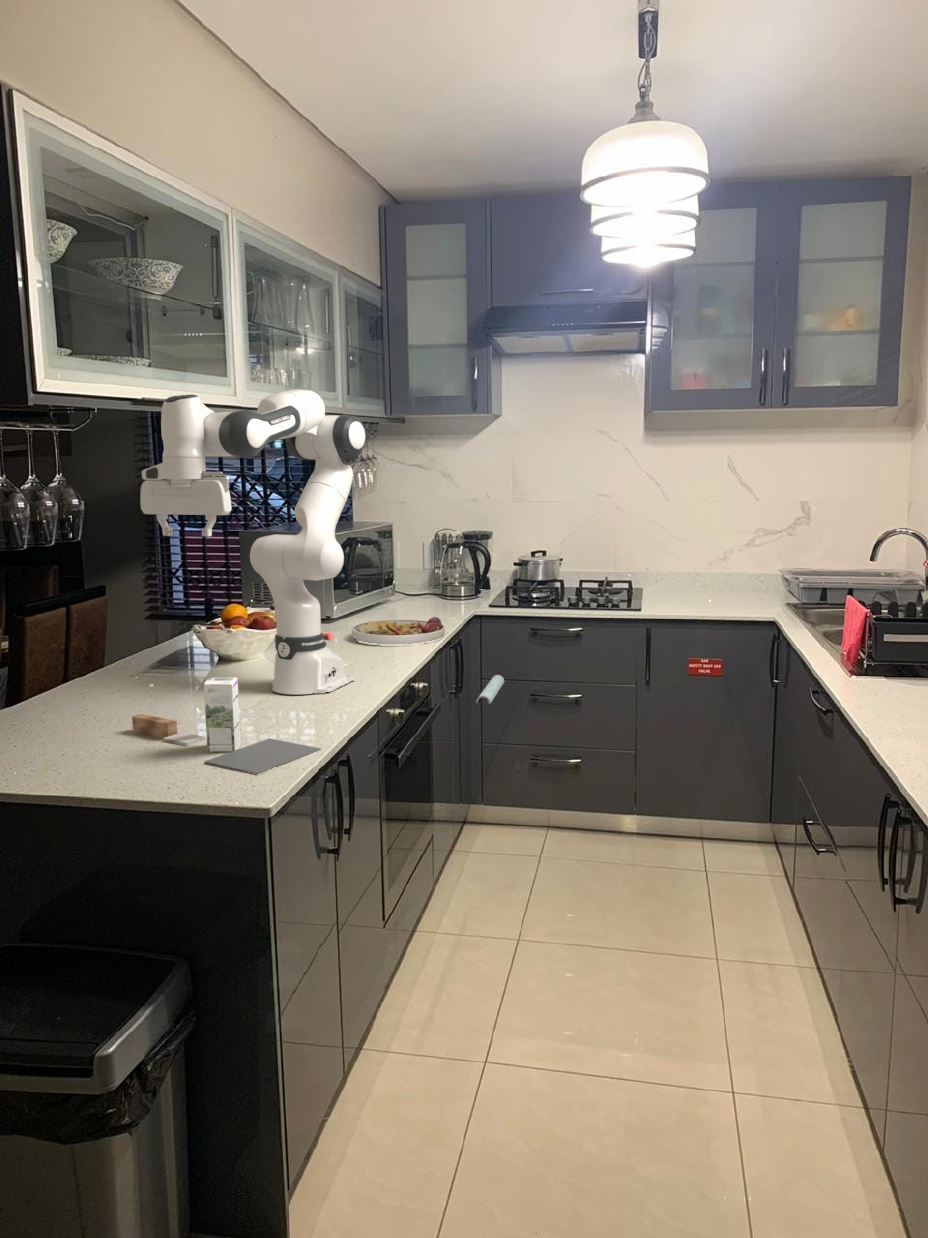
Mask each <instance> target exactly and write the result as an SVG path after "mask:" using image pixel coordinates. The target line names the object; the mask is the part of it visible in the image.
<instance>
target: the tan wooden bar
mask: <svg viewBox="0 0 928 1238" xmlns="http://www.w3.org/2000/svg"><path fill="white" fill-rule="evenodd" d="M131 719H132V733H133V734H139V735H143V736H147V737H151V738H152V737H153V738H157V739H162V740H163V742H165V743H169V744H174V745H179V746H184V747H188V746H191V745H194V744H198V743H201V742H204V741H206V737H205V736H201V735H196V734H191V733H187V732H183V731H182V732H178V722H177V720H174V719H169V718H164V717H159V716H154V715H148V714H143V713H141V714H136V715H134V716H132V717H131Z"/></svg>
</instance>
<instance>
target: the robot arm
mask: <svg viewBox="0 0 928 1238" xmlns="http://www.w3.org/2000/svg"><path fill="white" fill-rule="evenodd" d="M160 416H161V419H160V426H161V427H160V428H161V430H160V431H161V439H162V442H163V452H162V462H161V463H158V464H156V465H153V466H150V467H148V468H145V469H143V470H142V471H141V478H142V480H144V481H143V482H142V483H141V486H140V500H139V501H140V510H141V511H142V513H143V514H144V515H156V520H157V522H158V524H159V525H160V526H161V528H162V535H163V536H165V537H166V536H168V537H169V536H173V535H174V532H173V531H174V528H173V527H171V526H170V525H169V523H168V521H167V520H168V519H169V515H178V516H179V515H181V516H182V515H183V516H185V515H187V516H188V515H189V516H193V515H194V516H195V515H198V516H205V521H207V522H206V524H205V527H201V536H202V537H212V535H213V532H212V531H213V527H214V525H215V523H216V521H217V516H228V515H230V513H231V511H232V500H231V493H230V490H229V489H230V479H229V477H228V476H227V475H226V473H223V471H207V468H206V457H210V458H211V457H213V458H214V457H217V458H218V457H237V458H238V457H239V458H245V459H246V458H248V459H249V458H253V457H255V456H257V455H258V454H259V453H260V452H261V451H263V449H264V448H265V447H266V446H267V445H268V444H269V443H271V442H273V441H276V440H284V439H285V443H286V447H287V450H288V451H289V453H290V454H291V455H292V457H294V458H295V459H298V460H304V461H312V460H315V465H314V470H313V472H312V474H311V475H310V477H309V478H308V480H307V483H306V484H305V486H304V488H303V490H302V492H301V494H300V497H299V499H298V500H297V503H296V505H295V508H294V517H295V519H296V522H297V523H298V524H299V525H300V526H301V530H300V532H299V533H297V534H277V533H276V534H270V535H265V536H261V537H258V538H257V539H256V540H255V541H254V542H253V544H252V546H251V547H250V551H249V559H250V560H249V561H250V564H251V567H252V568H253V570H254V571H255V572H256V573H257V574H258V575H259V576H260V577H261V578H262V579H263V581H264V582H265V583H266V585H267V587H268V590H269V592H270V594H271V597H272V600H273V604H274V610H275V623H276V634H275V636H274V637H275V638H274V647H275V650H276V654H275V655H274V656H275V657H274V671H273V673H274V674H273V680H272V681H271V686H272V688H271V690H272V691H273V692H274V693H276V694H277V693H278V694H283V695H310V694H311V695H313V693H314V694H326V693H325V692H330V691H332V692H334V691H333V690H335V689H336V688H338V687H340V686H342V685H344V684H346V683H348V682H349V681H351V680H353V679H354V678H355V676H352V675H349V674H346V666H345V661H344V659H343V657H340V656H339V655H338V654H337V653H336V652H334V651H333V650H332V649H330V648H329V647H328V646H327V642H326V641H328V642H329V641H332V640H333V637H334V636H333V634H332V632H322V620H321V619H322V618H321V616H322V615H321V604H320V601H319V599H318V598H317V597H315V596H314V595H313V594H311V592H309V590H308V589H307V587H306V585H305V581H318V582H319V581H325V580H328V579H329V580H330V579H334V578H335V577H337V576H338V575H339V574H340V573H341V571H342V569H343V566H344V563H345V556H344V555H345V554H344V550H343V548H342V546H341V544H340V543H339V542H338V540H337V539H336V527H337V524H338V521H339V519H340V517H341V514H342V512H343V509H344V507H345V505H346V502H347V500H348V497H349V495H350V492H351V489H352V484H353V478H354V472H353V471H354V470H353V468H352V467H351V465H353V464H354V463H356V462H357V461H358V460H359V458H360V455H361V454H362V452H363V450H364V448H365V445H366V442H367V432H366V427H365V426H364V423H363V422H362V420H361V419H360V418H359V417H358V416H354V415H349V414H341V415H336V414H335V415H333V414H332V415H331V414H330V415H329V414H328V415H326V407H325V403H324V401H323V399H322V397H321V396H320V395H319V394H318V393H317V392H315V391H314V390H310V389H299V388H298V389H289V390H284V391H279V392H275V393H272V394H270V395H268V396H266V397H264V398H263V399H262V400H261V401H260V402H259V403H258V407H257V409H256V412H255V411H253V410H248V409H244V410H236V411H219V412H215V411H214V410H212V409H210V408H208V407H207V406H206V405H205V404H204V403H203V402H202V401H201V398H200V397H199V395H197V394H183V395H179V394H178V395H173V396H168V397H167V398H165V400H164V401H163V404H162V408H161V415H160ZM335 691H336V690H335ZM330 693H331V692H330Z"/></svg>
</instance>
